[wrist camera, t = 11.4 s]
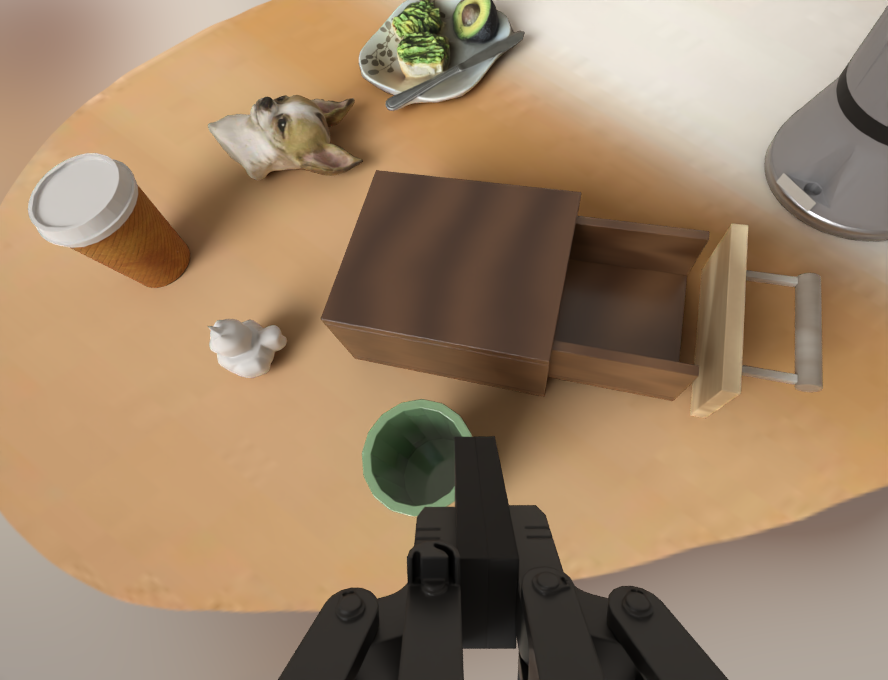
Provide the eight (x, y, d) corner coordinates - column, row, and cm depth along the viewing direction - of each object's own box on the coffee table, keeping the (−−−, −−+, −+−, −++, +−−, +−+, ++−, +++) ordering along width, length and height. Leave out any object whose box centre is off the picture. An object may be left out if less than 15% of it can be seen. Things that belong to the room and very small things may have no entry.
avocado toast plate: (448, 144, 55) (442, 111, 51) (330, 94, 61) (315, 60, 57) (538, 33, 60) (539, -5, 56) (420, -3, 66) (413, -41, 61)
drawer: (791, 281, 42) (838, 235, 36) (790, 435, 38) (844, 413, 31) (529, 246, 48) (530, 200, 41) (499, 378, 43) (496, 348, 37)
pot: (494, 445, 42) (485, 412, 32) (474, 533, 39) (459, 529, 29) (413, 426, 43) (381, 389, 33) (390, 510, 41) (347, 499, 31)
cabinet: (571, 251, 48) (581, 191, 40) (544, 396, 43) (549, 362, 35) (398, 228, 52) (375, 169, 44) (354, 358, 47) (319, 319, 39)
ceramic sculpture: (200, 76, 52) (340, 48, 52) (238, 138, 60) (359, 115, 60) (197, 152, 48) (349, 123, 48) (238, 209, 56) (369, 184, 56)
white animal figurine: (228, 344, 49) (177, 308, 42) (290, 321, 49) (250, 281, 42) (236, 393, 47) (183, 364, 40) (301, 368, 47) (260, 336, 40)
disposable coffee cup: (202, 216, 56) (125, 136, 45) (205, 287, 52) (122, 218, 41) (124, 240, 57) (28, 166, 46) (121, 311, 53) (16, 249, 42)
